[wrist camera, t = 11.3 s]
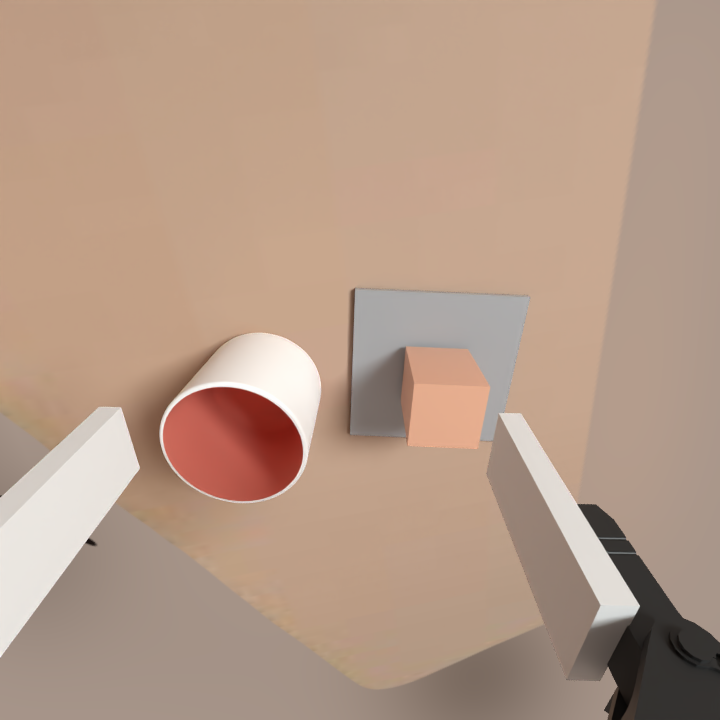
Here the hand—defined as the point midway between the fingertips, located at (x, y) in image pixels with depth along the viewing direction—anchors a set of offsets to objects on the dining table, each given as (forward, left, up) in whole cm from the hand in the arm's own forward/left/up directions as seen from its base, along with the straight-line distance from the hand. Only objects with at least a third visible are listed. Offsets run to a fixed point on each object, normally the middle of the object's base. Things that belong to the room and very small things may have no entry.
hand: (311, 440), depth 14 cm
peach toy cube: (+7, +8, -19) cm, 22 cm away
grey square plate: (+7, +8, -20) cm, 22 cm away
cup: (+8, -7, -20) cm, 23 cm away
